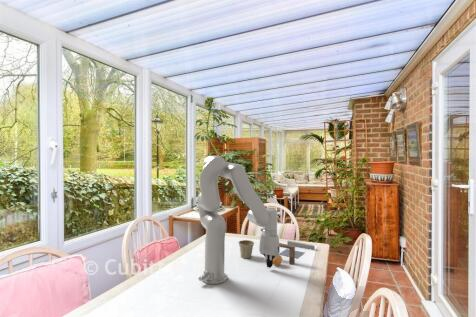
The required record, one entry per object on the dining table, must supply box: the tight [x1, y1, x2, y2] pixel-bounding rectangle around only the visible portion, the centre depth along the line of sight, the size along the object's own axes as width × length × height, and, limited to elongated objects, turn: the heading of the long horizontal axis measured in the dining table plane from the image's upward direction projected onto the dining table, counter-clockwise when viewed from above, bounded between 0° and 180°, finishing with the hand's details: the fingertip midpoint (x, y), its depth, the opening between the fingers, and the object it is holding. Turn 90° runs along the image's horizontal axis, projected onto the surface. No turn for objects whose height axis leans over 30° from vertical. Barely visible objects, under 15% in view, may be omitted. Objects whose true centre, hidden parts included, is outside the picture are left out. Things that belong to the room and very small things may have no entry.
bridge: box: [279, 242, 296, 265], centre depth 161 cm, size 3×15×10 cm, turn 56°
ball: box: [273, 255, 283, 266], centre depth 155 cm, size 6×6×6 cm
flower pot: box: [238, 239, 255, 260], centre depth 167 cm, size 9×9×9 cm
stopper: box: [286, 240, 316, 251], centre depth 186 cm, size 2×18×2 cm, turn 56°
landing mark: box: [279, 248, 305, 259], centre depth 174 cm, size 12×12×1 cm
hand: (269, 266), depth 149 cm, fingers closed
